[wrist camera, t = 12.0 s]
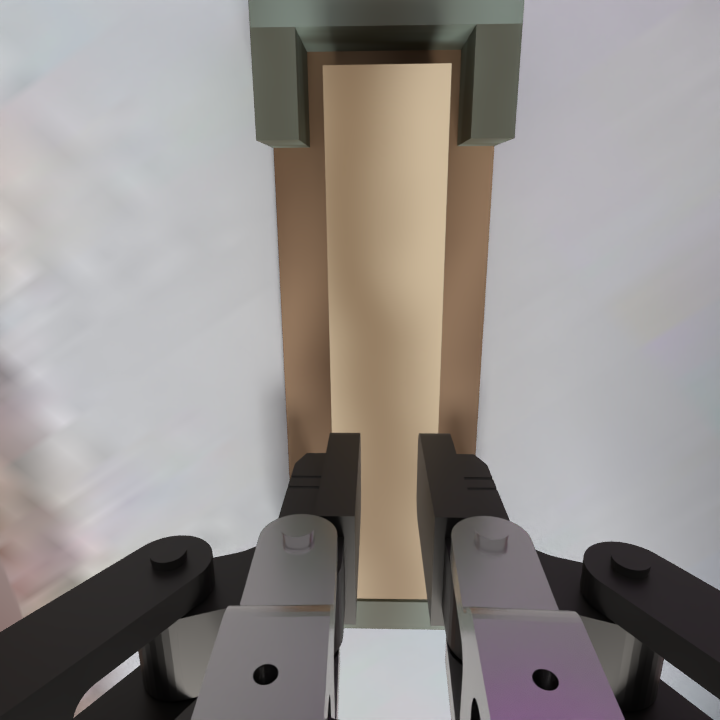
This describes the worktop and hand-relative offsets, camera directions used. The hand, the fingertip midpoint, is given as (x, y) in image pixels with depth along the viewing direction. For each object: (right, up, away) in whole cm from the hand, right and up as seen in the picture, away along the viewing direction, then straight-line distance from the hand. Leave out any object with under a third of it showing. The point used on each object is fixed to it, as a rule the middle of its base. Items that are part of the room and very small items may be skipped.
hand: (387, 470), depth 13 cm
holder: (0, +4, +12) cm, 13 cm away
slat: (0, +4, +12) cm, 12 cm away
